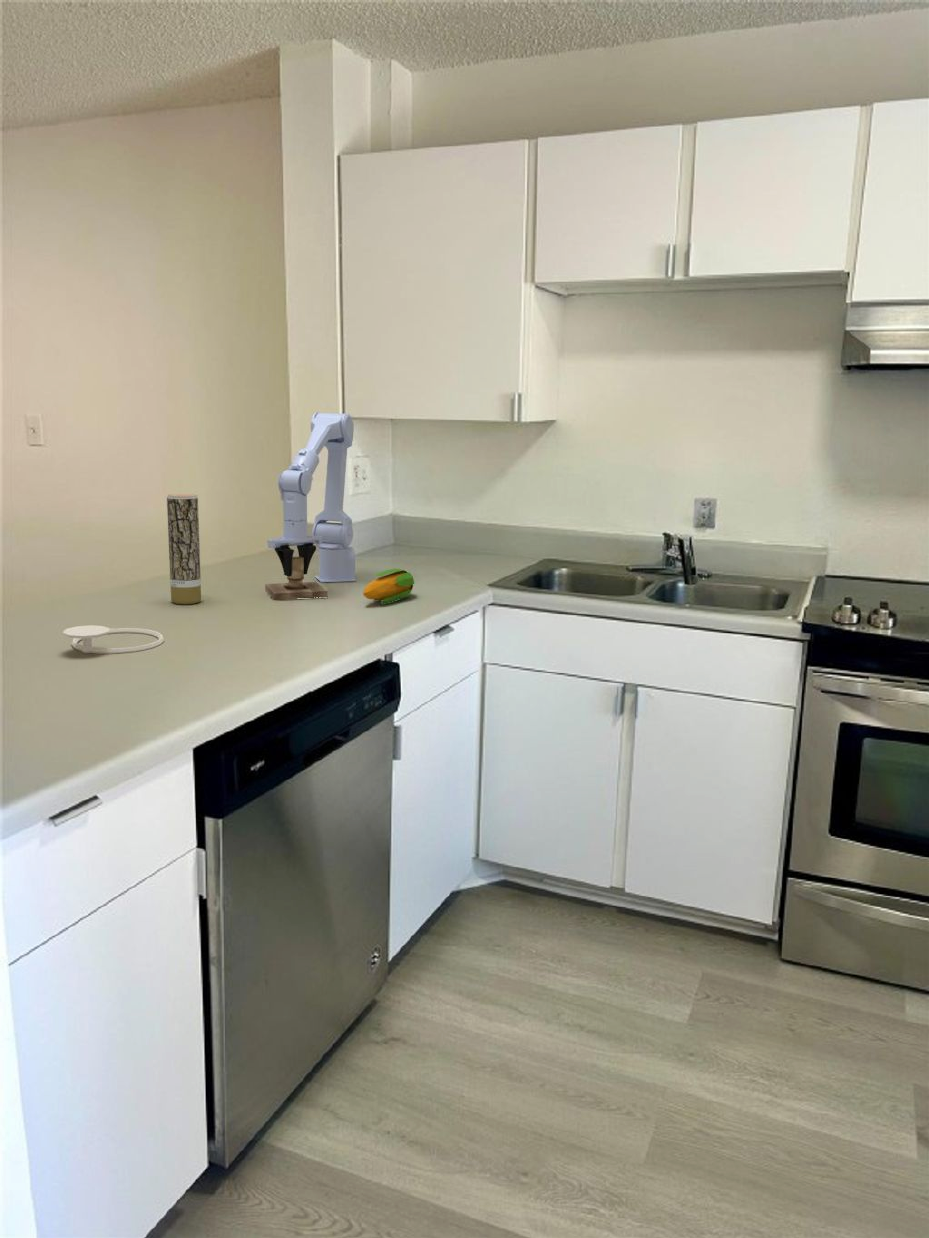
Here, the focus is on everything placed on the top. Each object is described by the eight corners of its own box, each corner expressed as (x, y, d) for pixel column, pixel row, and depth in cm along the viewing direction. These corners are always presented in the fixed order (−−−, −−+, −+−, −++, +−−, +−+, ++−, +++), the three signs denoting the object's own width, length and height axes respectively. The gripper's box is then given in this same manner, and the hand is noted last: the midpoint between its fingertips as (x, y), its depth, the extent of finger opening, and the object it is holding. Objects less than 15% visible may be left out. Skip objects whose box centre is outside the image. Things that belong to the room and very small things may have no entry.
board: (316, 588, 235) (316, 581, 235) (327, 598, 224) (327, 591, 224) (265, 591, 230) (265, 583, 230) (274, 600, 220) (274, 593, 219)
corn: (421, 565, 229) (378, 577, 212) (422, 595, 231) (380, 609, 213) (395, 564, 233) (352, 576, 215) (397, 594, 234) (353, 608, 217)
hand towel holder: (182, 619, 182) (105, 641, 163) (182, 640, 183) (106, 664, 164) (115, 608, 188) (34, 629, 169) (116, 629, 189) (36, 652, 170)
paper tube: (192, 606, 211) (188, 497, 205) (165, 604, 212) (161, 495, 207) (206, 600, 218) (203, 494, 212) (180, 598, 219) (176, 493, 213)
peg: (297, 583, 230) (297, 556, 228) (307, 586, 227) (307, 558, 226) (283, 585, 227) (283, 557, 225) (294, 588, 224) (293, 559, 223)
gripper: (310, 516, 231) (311, 569, 234) (260, 519, 221) (261, 575, 224) (327, 519, 226) (327, 573, 229) (276, 523, 216) (277, 579, 219)
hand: (295, 574), depth 226 cm, fingers closed on peg, 4 cm apart
